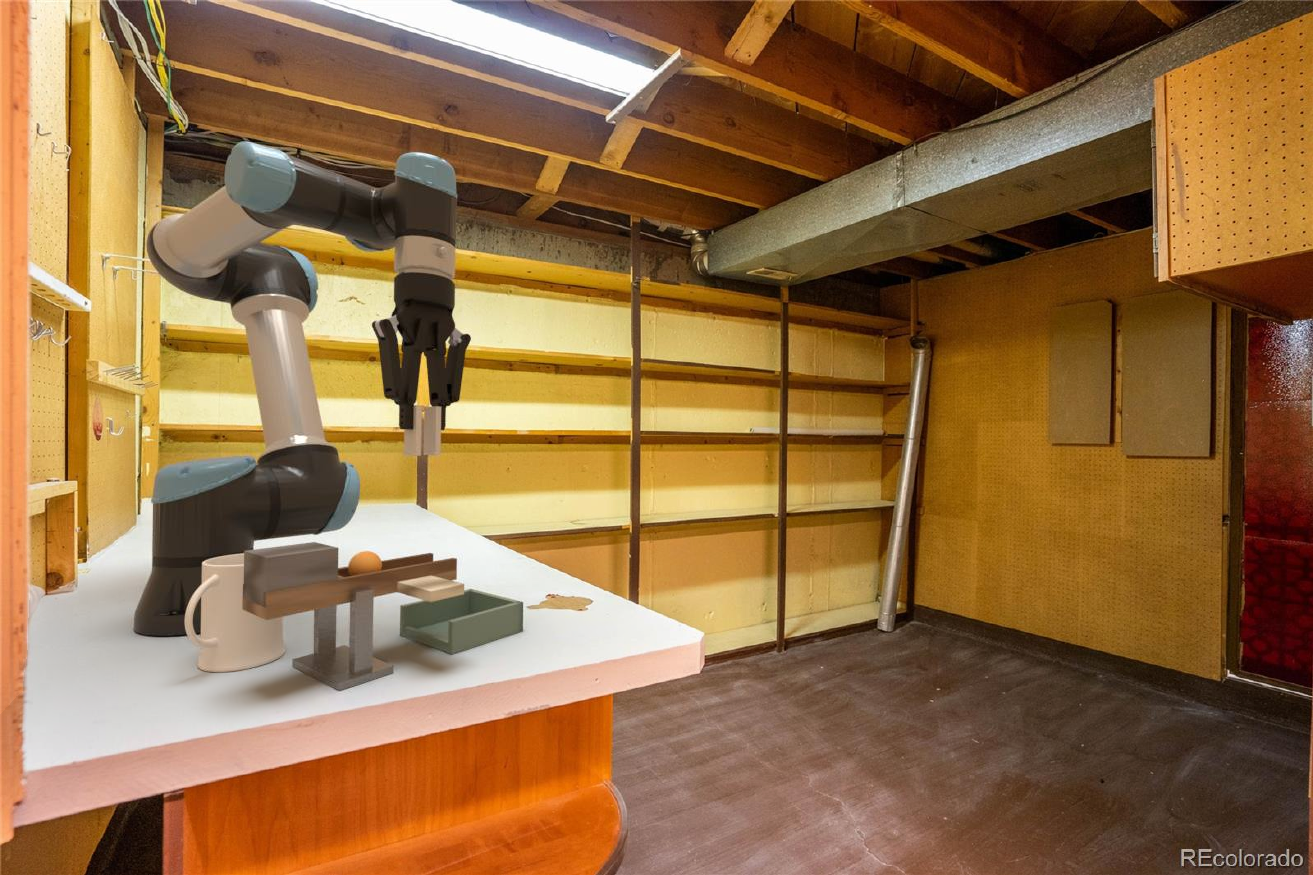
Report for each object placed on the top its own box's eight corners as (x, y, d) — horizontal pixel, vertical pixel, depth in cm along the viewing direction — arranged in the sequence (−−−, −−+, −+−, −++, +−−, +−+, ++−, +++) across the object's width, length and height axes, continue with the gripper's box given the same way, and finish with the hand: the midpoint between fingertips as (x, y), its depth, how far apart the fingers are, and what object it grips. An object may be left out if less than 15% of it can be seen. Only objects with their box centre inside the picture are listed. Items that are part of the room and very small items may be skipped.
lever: (241, 609, 62) (242, 550, 62) (428, 572, 80) (429, 527, 80) (297, 634, 54) (298, 567, 54) (490, 587, 72) (491, 537, 72)
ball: (341, 582, 69) (342, 551, 69) (371, 576, 72) (372, 547, 72) (357, 587, 67) (358, 555, 67) (387, 581, 70) (388, 551, 70)
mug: (212, 688, 62) (214, 574, 62) (147, 680, 64) (149, 570, 64) (301, 649, 74) (303, 553, 74) (244, 643, 75) (246, 550, 75)
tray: (399, 635, 79) (400, 605, 79) (470, 615, 88) (471, 588, 88) (452, 654, 72) (452, 622, 72) (522, 630, 82) (523, 602, 82)
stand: (292, 666, 68) (293, 581, 68) (344, 651, 73) (345, 572, 73) (339, 690, 62) (340, 597, 62) (393, 672, 67) (394, 586, 67)
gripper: (385, 257, 69) (382, 456, 69) (490, 286, 82) (487, 455, 81) (353, 268, 74) (350, 455, 73) (457, 293, 86) (454, 453, 86)
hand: (422, 454), depth 77 cm, fingers open, 2 cm apart
